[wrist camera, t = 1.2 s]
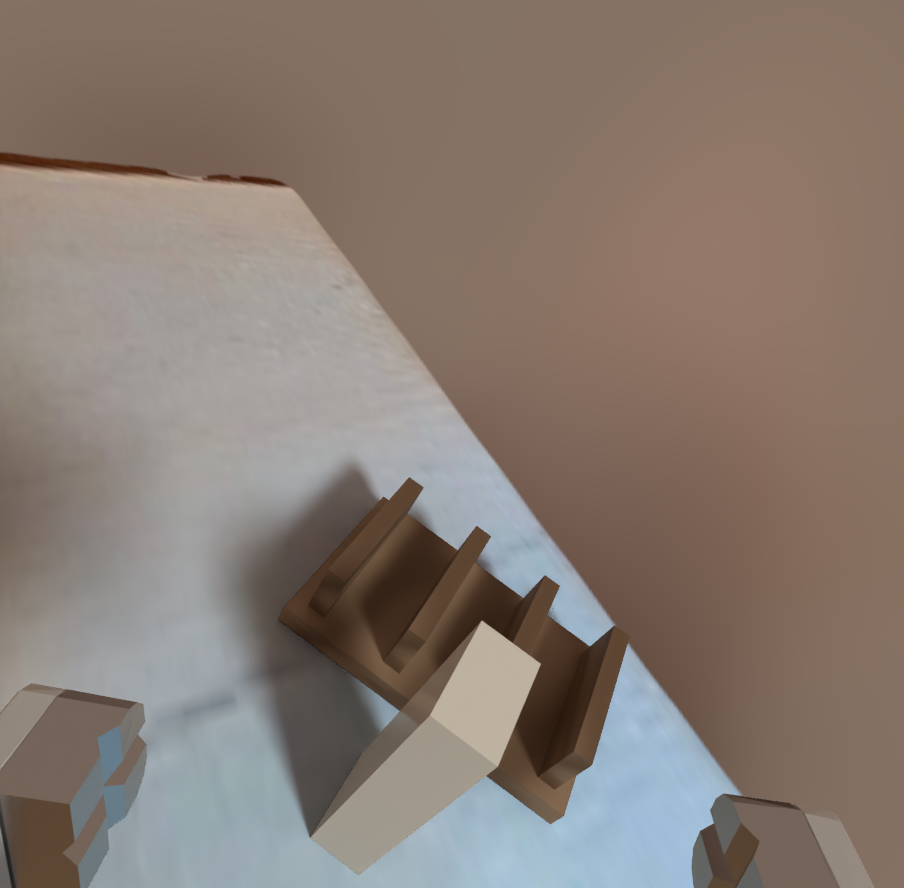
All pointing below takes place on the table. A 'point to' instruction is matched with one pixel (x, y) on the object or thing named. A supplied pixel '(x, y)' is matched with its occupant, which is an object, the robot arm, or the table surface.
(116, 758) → the robot arm
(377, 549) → the drying rack
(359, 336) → the table surface
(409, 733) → the clay strip
